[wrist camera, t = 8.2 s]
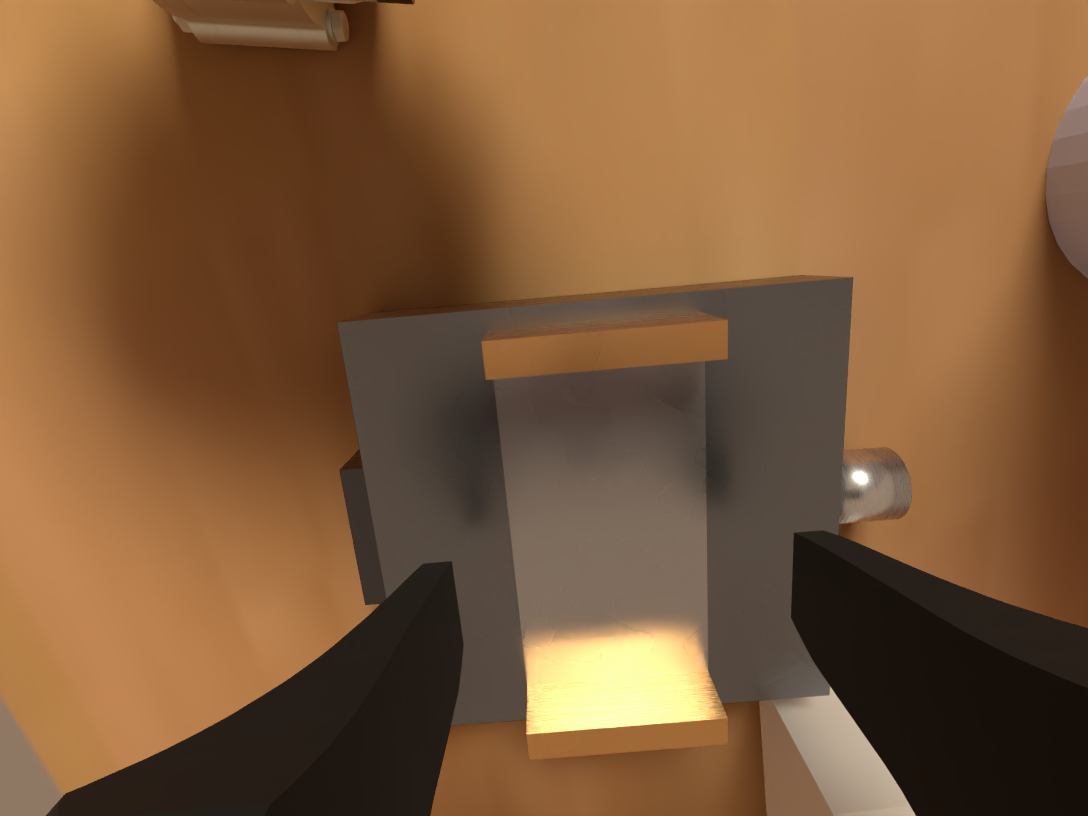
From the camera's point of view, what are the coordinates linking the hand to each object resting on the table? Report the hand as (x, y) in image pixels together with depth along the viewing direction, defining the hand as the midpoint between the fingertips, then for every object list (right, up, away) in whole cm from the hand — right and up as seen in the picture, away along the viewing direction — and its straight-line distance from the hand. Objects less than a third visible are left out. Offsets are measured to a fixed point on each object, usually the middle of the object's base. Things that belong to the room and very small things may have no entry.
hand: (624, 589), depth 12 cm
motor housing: (0, +1, +5) cm, 5 cm away
